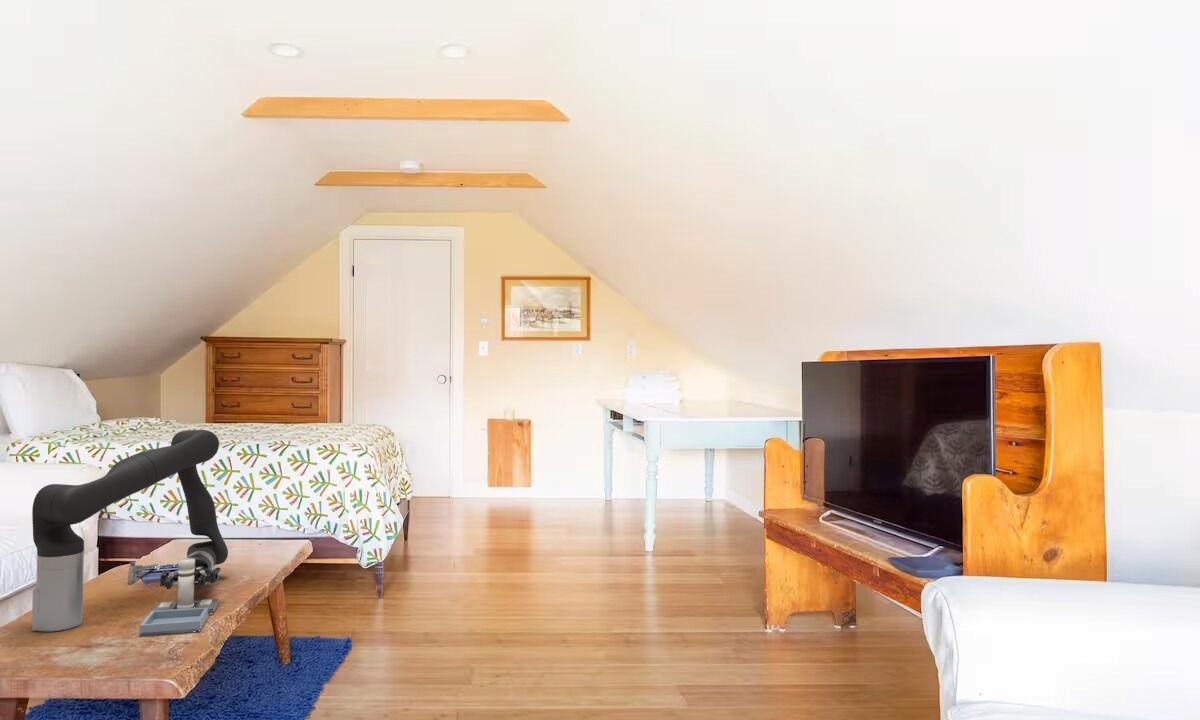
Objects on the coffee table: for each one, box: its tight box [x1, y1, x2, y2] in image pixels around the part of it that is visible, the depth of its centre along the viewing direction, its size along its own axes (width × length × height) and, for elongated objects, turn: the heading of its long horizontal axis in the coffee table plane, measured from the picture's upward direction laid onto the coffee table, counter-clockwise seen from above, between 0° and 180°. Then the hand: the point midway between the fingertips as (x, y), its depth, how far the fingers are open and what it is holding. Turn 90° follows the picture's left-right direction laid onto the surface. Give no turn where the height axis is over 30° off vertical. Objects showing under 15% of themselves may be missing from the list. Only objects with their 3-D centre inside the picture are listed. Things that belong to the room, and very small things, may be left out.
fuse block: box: [151, 598, 220, 614], centre depth 201 cm, size 14×9×2 cm, turn 107°
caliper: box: [127, 561, 159, 585], centre depth 234 cm, size 20×1×6 cm, turn 9°
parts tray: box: [139, 608, 209, 637], centre depth 190 cm, size 12×11×2 cm
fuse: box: [177, 557, 195, 609], centre depth 201 cm, size 4×4×13 cm
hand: (184, 584), depth 199 cm, fingers open, 6 cm apart
